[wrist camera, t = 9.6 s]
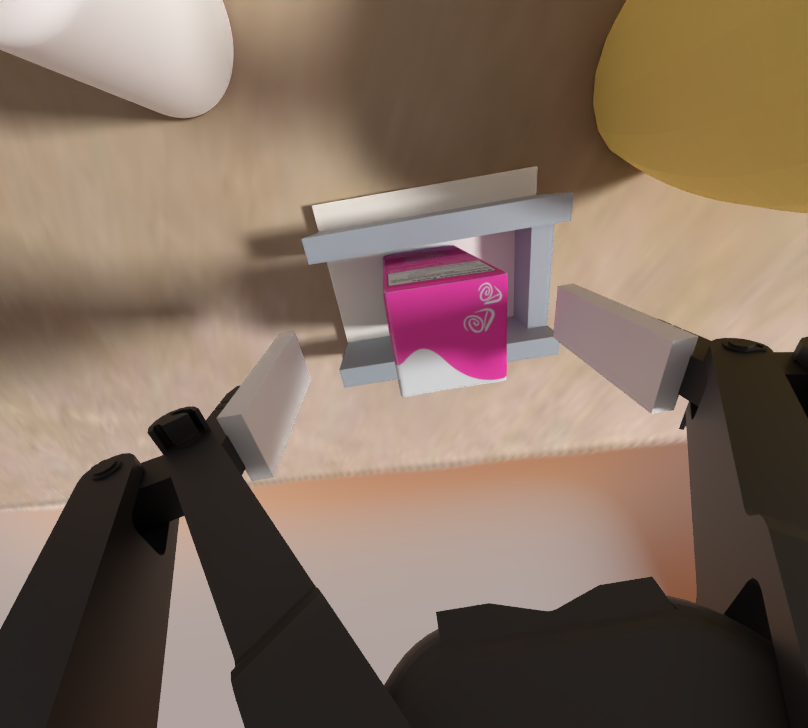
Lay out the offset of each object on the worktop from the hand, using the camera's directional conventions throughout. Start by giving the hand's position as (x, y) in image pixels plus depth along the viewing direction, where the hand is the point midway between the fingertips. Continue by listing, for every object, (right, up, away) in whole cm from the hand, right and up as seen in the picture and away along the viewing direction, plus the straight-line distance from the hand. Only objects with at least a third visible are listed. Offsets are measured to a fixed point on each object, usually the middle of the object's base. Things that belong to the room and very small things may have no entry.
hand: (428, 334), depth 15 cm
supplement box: (0, +5, +9) cm, 11 cm away
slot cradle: (+1, +5, +10) cm, 11 cm away
